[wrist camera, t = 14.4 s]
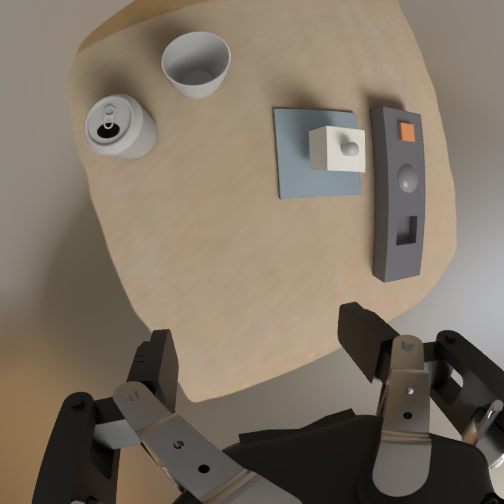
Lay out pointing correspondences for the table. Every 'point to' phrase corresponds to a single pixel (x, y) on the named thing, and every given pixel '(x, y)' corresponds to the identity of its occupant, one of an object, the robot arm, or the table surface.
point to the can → (120, 127)
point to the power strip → (398, 193)
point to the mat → (297, 155)
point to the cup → (196, 63)
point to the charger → (337, 149)
